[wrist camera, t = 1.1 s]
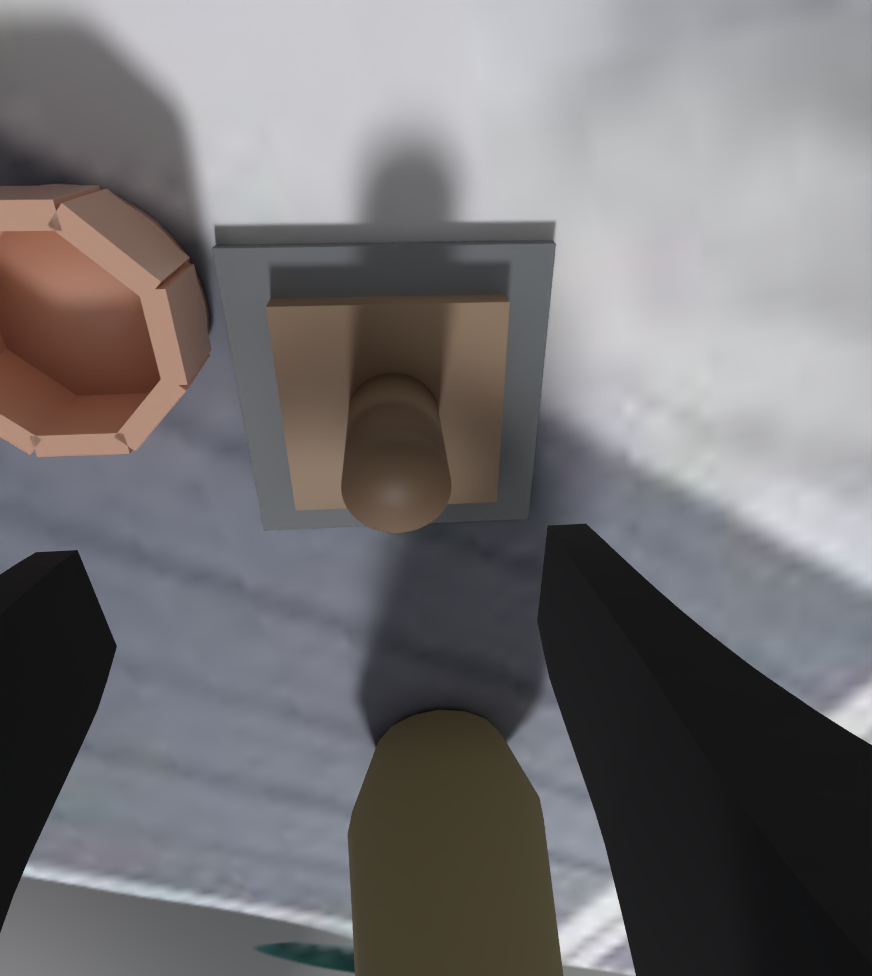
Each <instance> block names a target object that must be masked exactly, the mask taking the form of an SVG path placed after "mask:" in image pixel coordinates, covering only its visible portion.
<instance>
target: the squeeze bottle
mask: <svg viewBox="0 0 872 976" xmlns="http://www.w3.org/2000/svg"><path fill="white" fill-rule="evenodd" d="M348 848H349V867H350V885H351V904H352V922H353V941H354V959H355V976H563V970H562V962H561V954H560V946H559V938H558V930H557V922H556V914H555V906H554V898H553V890H552V882H551V874H550V866H549V858H548V850H547V842H546V834H545V826H544V818H543V813H542V808H541V803H540V798H539V796H538V794H537V793H536V791H535V789H534V788H533V786H532V784H531V783H530V781H529V779H528V778H527V776H526V774H525V773H524V771H523V769H522V768H521V766H520V764H519V763H518V761H517V759H516V758H515V756H514V754H513V753H512V751H511V749H510V748H509V746H508V745H507V743H506V741H505V740H504V738H503V736H502V735H501V733H500V731H499V730H497V729H496V728H495V727H494V726H493V725H492V724H491V723H490V722H489V721H488V720H487V719H485V718H482V717H480V716H477V715H474V714H472V713H469V712H466V711H454V710H435V711H430V712H425V713H420V714H415V715H412V716H410V717H408V718H406V719H404V720H402V721H400V722H398V723H397V724H395V725H393V726H392V727H391V728H390V729H389V730H388V731H387V732H386V733H385V734H384V735H383V736H382V737H381V739H380V740H379V741H378V744H377V747H376V749H375V752H374V755H373V758H372V760H371V763H370V766H369V768H368V771H367V774H366V776H365V779H364V782H363V784H362V787H361V790H360V792H359V795H358V798H357V800H356V803H355V806H354V809H353V811H352V816H351V820H350V825H349V830H348Z"/></svg>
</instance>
